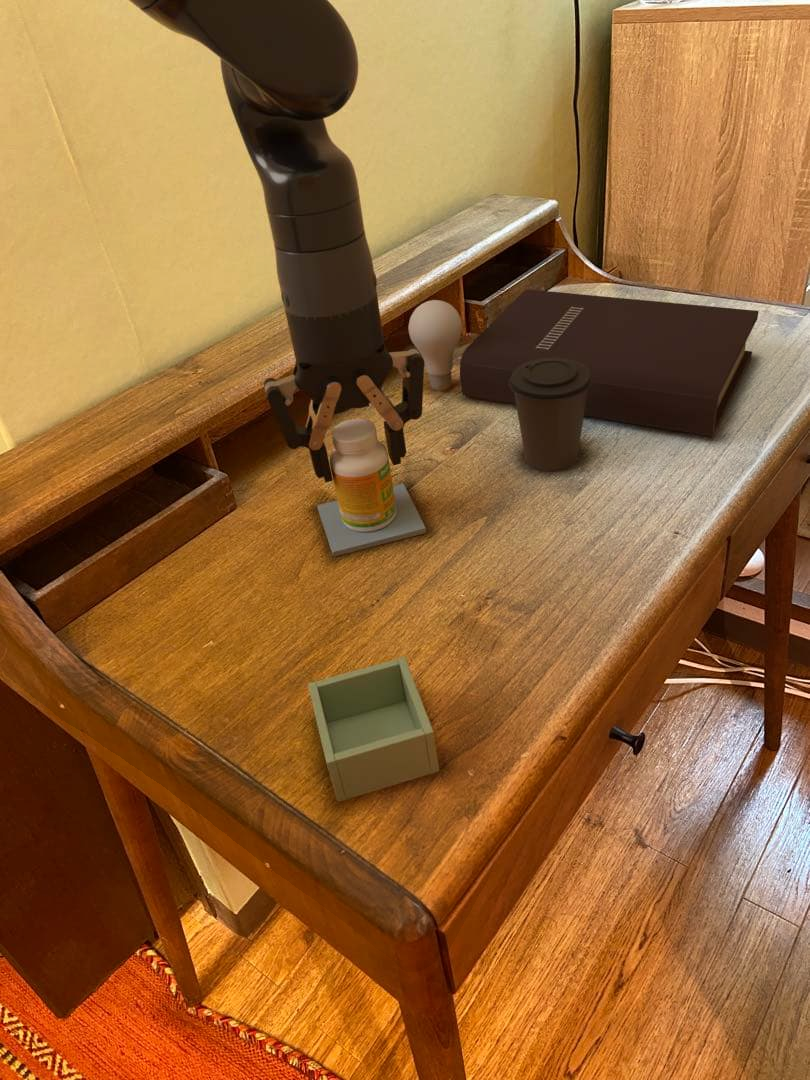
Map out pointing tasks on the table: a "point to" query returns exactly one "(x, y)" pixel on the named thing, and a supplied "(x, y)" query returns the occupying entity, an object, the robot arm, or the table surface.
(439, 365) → the lightbulb
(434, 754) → the caddy
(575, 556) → the table surface
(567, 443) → the coffee cup
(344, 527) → the mat
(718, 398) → the book
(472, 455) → the table surface
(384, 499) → the supplement bottle
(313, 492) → the table surface
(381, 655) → the table surface
